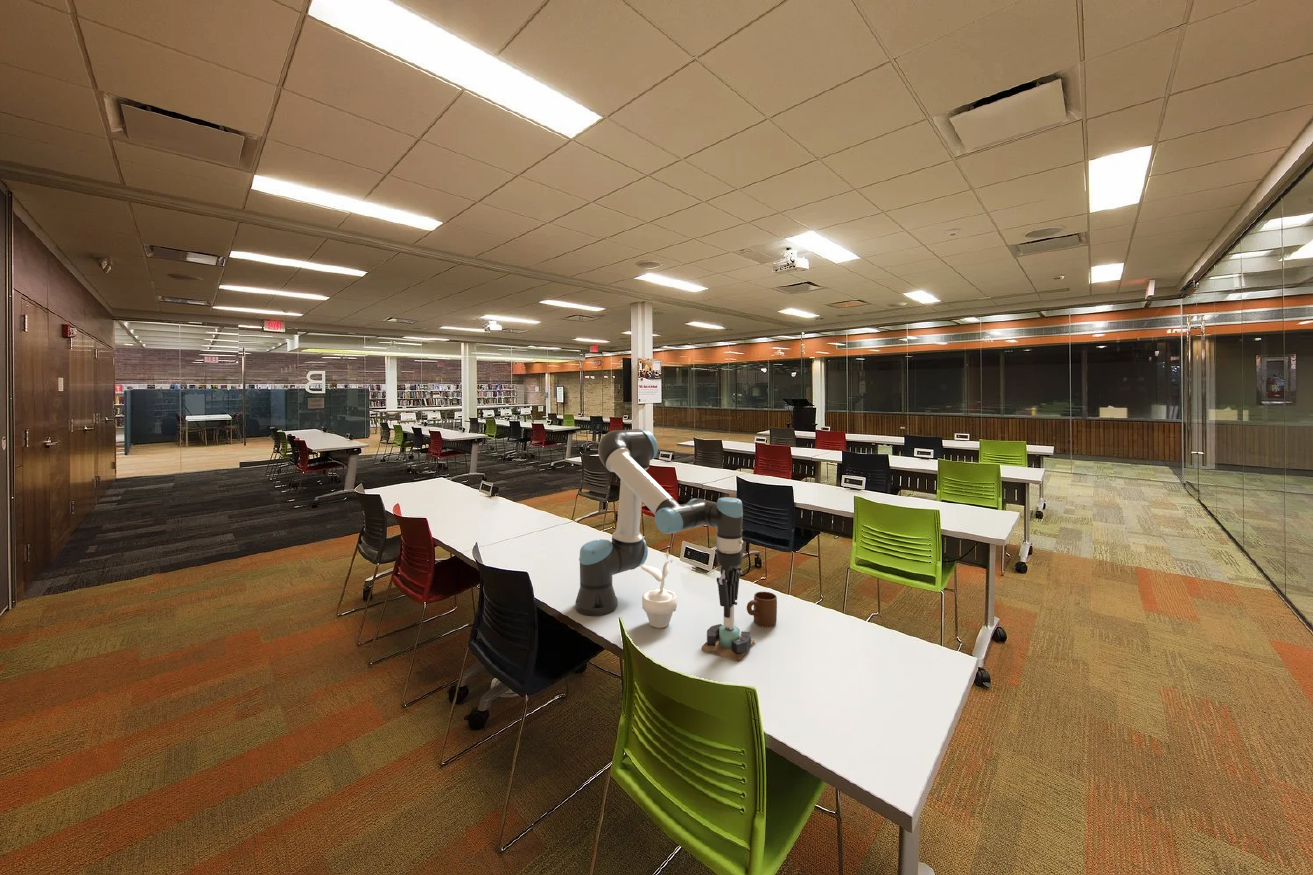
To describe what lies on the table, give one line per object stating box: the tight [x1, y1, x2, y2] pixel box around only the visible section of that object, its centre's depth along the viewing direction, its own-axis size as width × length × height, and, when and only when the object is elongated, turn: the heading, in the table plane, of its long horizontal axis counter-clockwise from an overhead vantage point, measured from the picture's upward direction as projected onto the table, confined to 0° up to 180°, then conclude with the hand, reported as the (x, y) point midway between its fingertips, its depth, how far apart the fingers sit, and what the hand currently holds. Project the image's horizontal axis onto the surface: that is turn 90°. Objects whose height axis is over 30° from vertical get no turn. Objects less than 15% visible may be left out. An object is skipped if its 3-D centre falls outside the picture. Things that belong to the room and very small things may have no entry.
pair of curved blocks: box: [706, 623, 752, 655], centre depth 143 cm, size 13×9×3 cm
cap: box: [719, 624, 740, 649], centre depth 143 cm, size 6×6×5 cm
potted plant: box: [639, 549, 678, 629], centre depth 157 cm, size 13×12×25 cm
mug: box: [746, 591, 778, 628], centre depth 157 cm, size 12×8×9 cm, turn 123°
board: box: [701, 635, 756, 662], centre depth 143 cm, size 12×12×1 cm
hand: (728, 626), depth 143 cm, fingers closed
